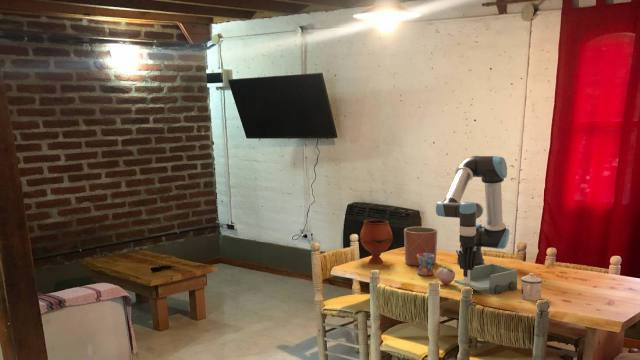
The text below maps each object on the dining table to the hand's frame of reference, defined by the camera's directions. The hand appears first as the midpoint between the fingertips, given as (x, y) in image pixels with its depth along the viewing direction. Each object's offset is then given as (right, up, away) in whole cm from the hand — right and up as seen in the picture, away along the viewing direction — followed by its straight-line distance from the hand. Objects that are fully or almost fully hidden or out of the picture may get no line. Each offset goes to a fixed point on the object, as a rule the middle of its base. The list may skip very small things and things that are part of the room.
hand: (467, 283), depth 250 cm
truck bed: (+15, -4, +9) cm, 17 cm away
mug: (-12, -2, +34) cm, 36 cm away
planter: (-11, 0, +56) cm, 57 cm away
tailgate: (+6, -1, +4) cm, 7 cm away
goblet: (-37, 0, +59) cm, 69 cm away
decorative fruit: (-7, -4, +14) cm, 16 cm away
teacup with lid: (+26, -6, -10) cm, 29 cm away
